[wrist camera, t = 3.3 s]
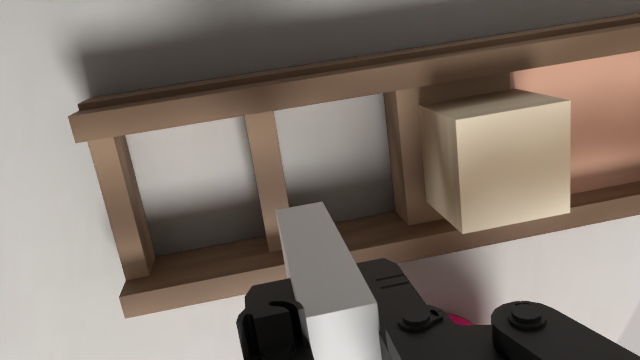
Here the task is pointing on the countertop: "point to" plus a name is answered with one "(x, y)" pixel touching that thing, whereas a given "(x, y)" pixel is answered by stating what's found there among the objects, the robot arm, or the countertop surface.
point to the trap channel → (404, 145)
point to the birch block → (496, 158)
